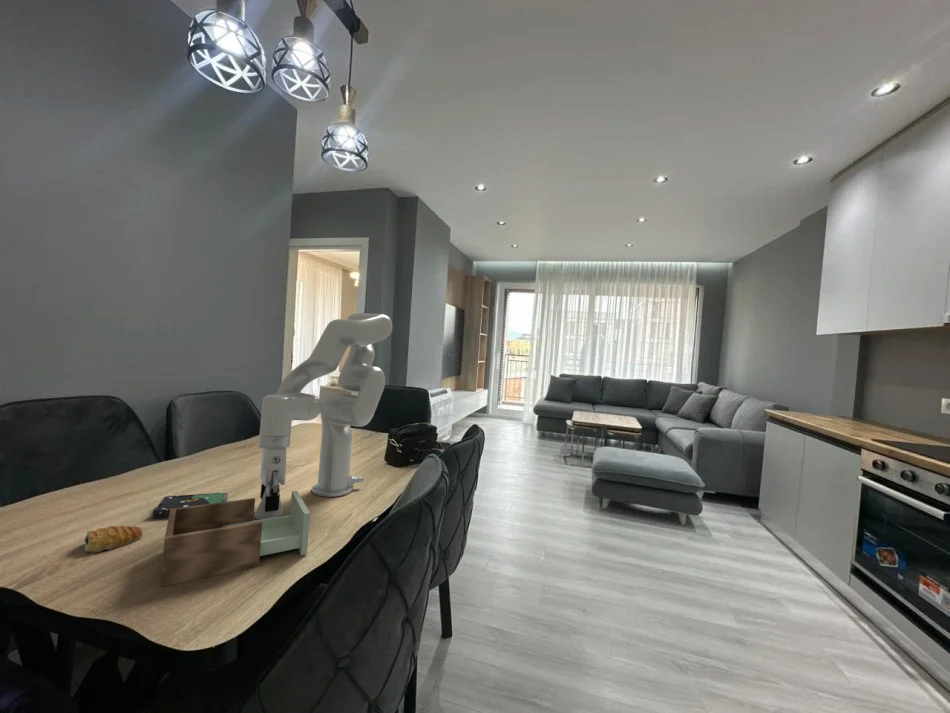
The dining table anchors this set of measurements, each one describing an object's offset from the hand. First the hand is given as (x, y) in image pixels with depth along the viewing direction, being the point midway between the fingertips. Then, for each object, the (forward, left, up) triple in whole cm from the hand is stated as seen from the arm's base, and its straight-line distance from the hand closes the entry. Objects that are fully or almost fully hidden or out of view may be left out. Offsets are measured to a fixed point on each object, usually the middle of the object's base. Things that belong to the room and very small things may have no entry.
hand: (269, 504), depth 104 cm
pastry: (+31, +2, -3) cm, 31 cm away
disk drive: (+17, -12, -4) cm, 21 cm away
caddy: (+13, +18, -3) cm, 22 cm away
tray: (+3, +18, -3) cm, 18 cm away
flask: (0, 0, -3) cm, 3 cm away
